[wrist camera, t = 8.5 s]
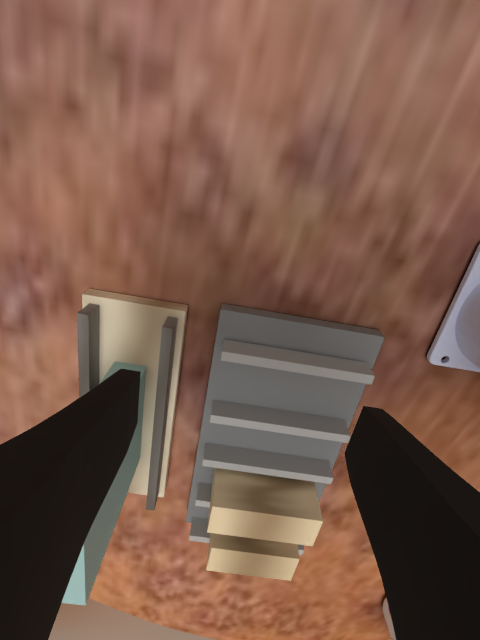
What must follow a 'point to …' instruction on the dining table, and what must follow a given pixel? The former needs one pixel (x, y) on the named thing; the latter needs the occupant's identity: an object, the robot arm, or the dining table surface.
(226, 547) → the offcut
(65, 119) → the dining table surface
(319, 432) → the rack
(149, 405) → the holder
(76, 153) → the dining table surface
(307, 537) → the block
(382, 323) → the dining table surface
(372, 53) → the dining table surface
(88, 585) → the teal rectangular block
